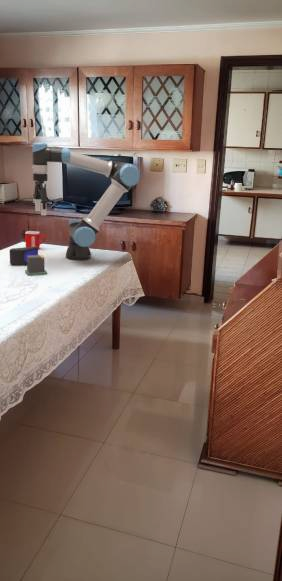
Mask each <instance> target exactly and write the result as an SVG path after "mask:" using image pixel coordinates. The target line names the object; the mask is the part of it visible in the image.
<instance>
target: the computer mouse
mask: <svg viewBox="0 0 282 581" xmlns="http://www.w3.org/2000/svg"><path fill="white" fill-rule="evenodd" d="M28 255H39V250H38V248H37V247H26V246H24V247H15V248H10V249H9V265H11V266H14V267H15V266H27V256H28Z"/></svg>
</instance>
